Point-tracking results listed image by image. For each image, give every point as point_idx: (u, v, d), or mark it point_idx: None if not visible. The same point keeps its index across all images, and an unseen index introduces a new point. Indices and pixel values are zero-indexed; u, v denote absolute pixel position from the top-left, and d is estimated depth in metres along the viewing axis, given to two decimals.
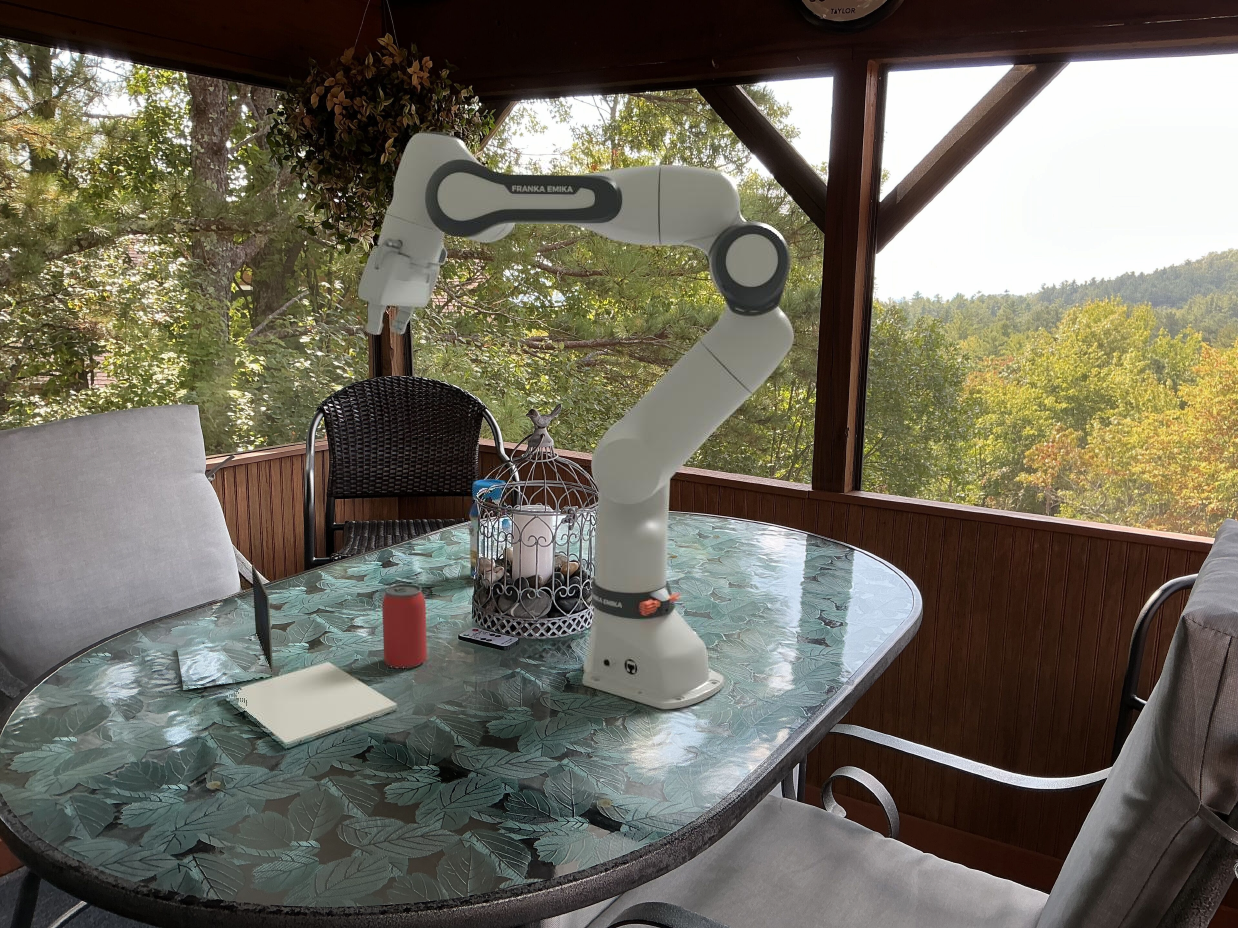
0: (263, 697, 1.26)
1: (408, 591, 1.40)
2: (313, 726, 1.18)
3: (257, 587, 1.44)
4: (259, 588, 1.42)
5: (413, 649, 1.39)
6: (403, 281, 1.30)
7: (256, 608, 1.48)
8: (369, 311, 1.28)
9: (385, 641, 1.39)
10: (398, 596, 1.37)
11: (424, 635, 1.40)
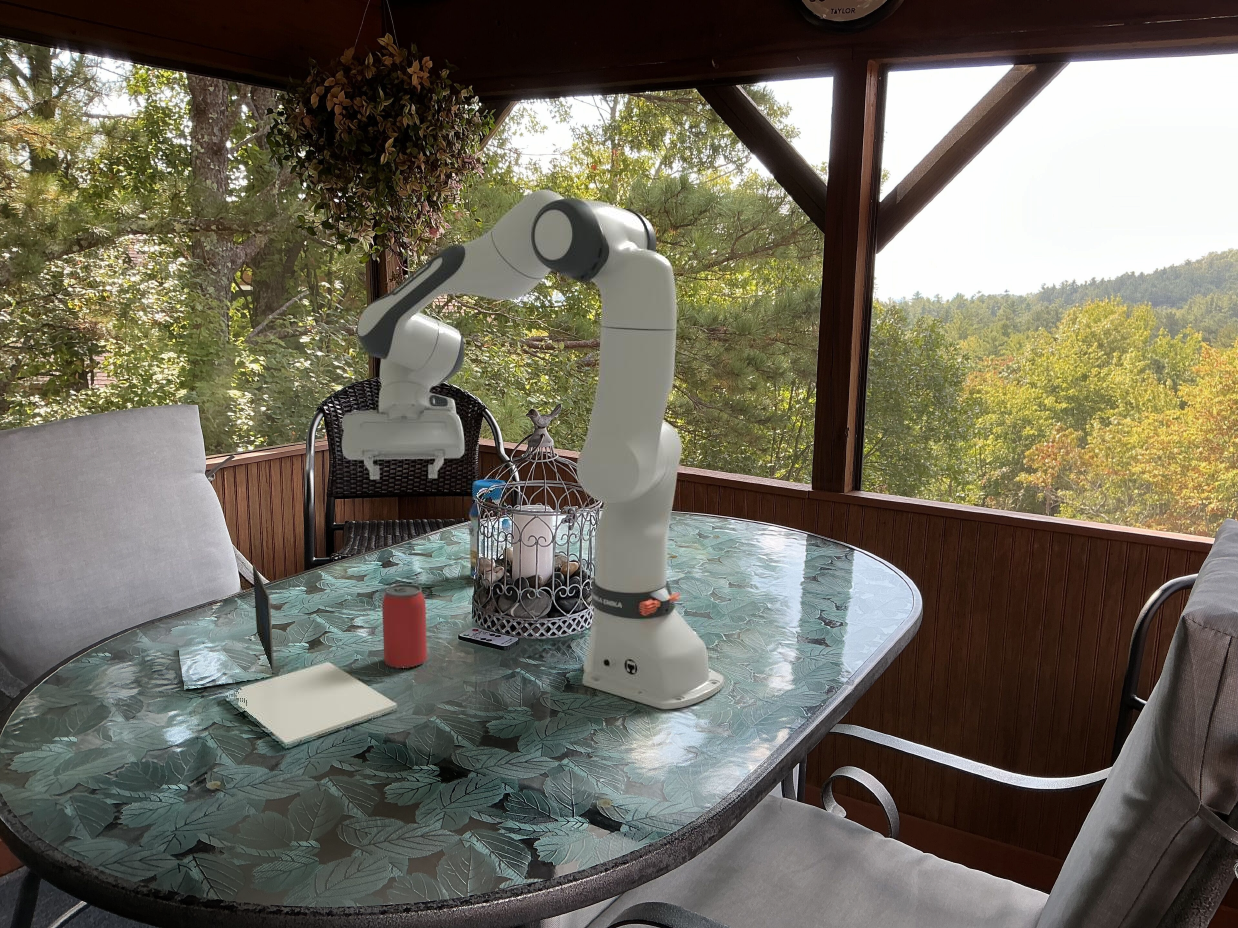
0: (263, 697, 1.26)
1: (408, 591, 1.40)
2: (313, 726, 1.18)
3: (258, 587, 1.44)
4: (260, 588, 1.42)
5: (413, 649, 1.39)
6: (384, 429, 1.51)
7: (257, 608, 1.48)
8: (365, 464, 1.50)
9: (385, 641, 1.39)
10: (398, 596, 1.37)
11: (424, 635, 1.40)
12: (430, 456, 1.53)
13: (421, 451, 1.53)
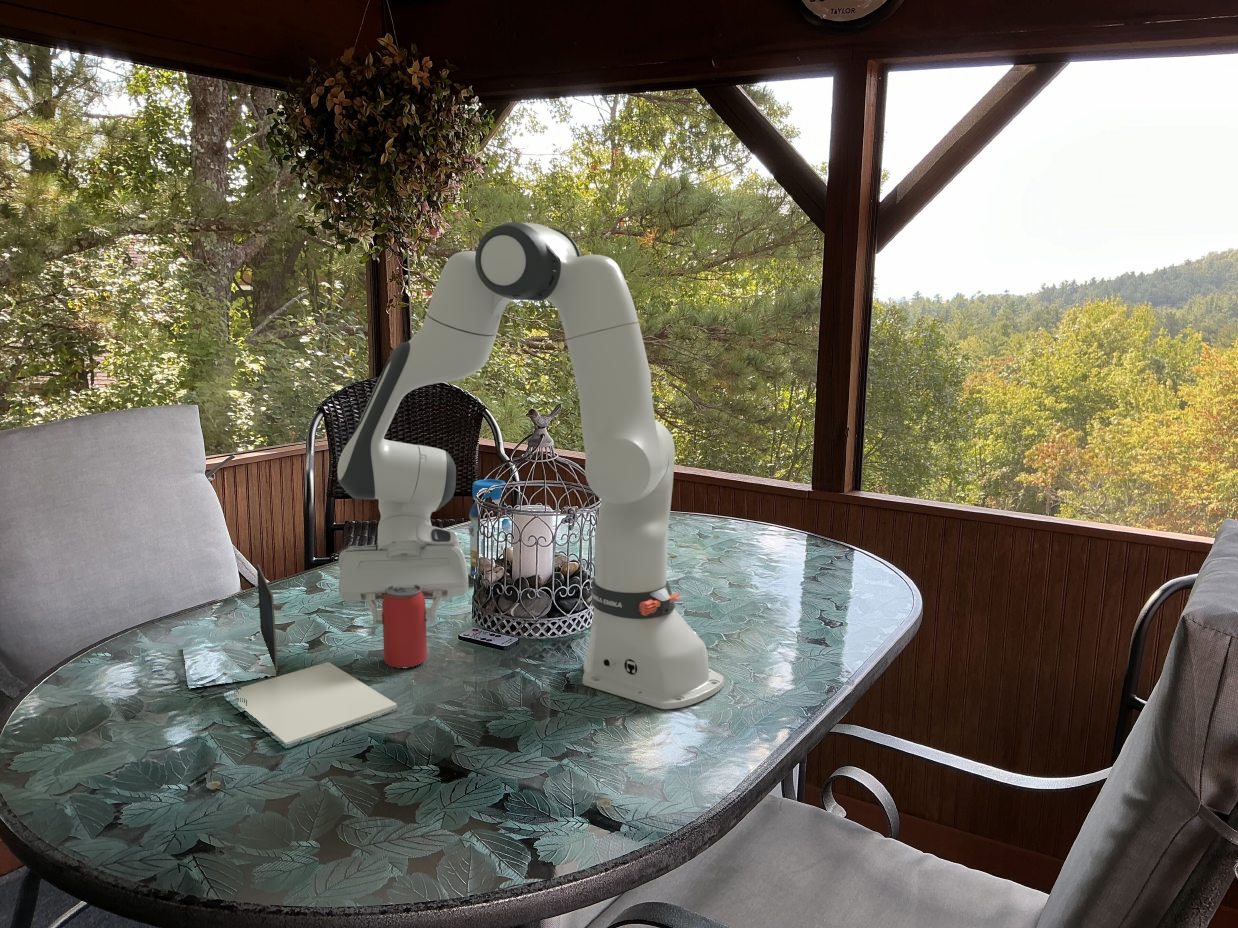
0: (263, 697, 1.26)
1: (408, 591, 1.40)
2: (313, 726, 1.18)
3: (262, 586, 1.44)
4: (264, 587, 1.42)
5: (413, 649, 1.39)
6: (383, 569, 1.43)
7: (261, 607, 1.48)
8: (368, 607, 1.41)
9: (385, 641, 1.39)
10: (398, 596, 1.37)
11: (424, 635, 1.40)
12: (432, 595, 1.44)
13: (423, 590, 1.44)
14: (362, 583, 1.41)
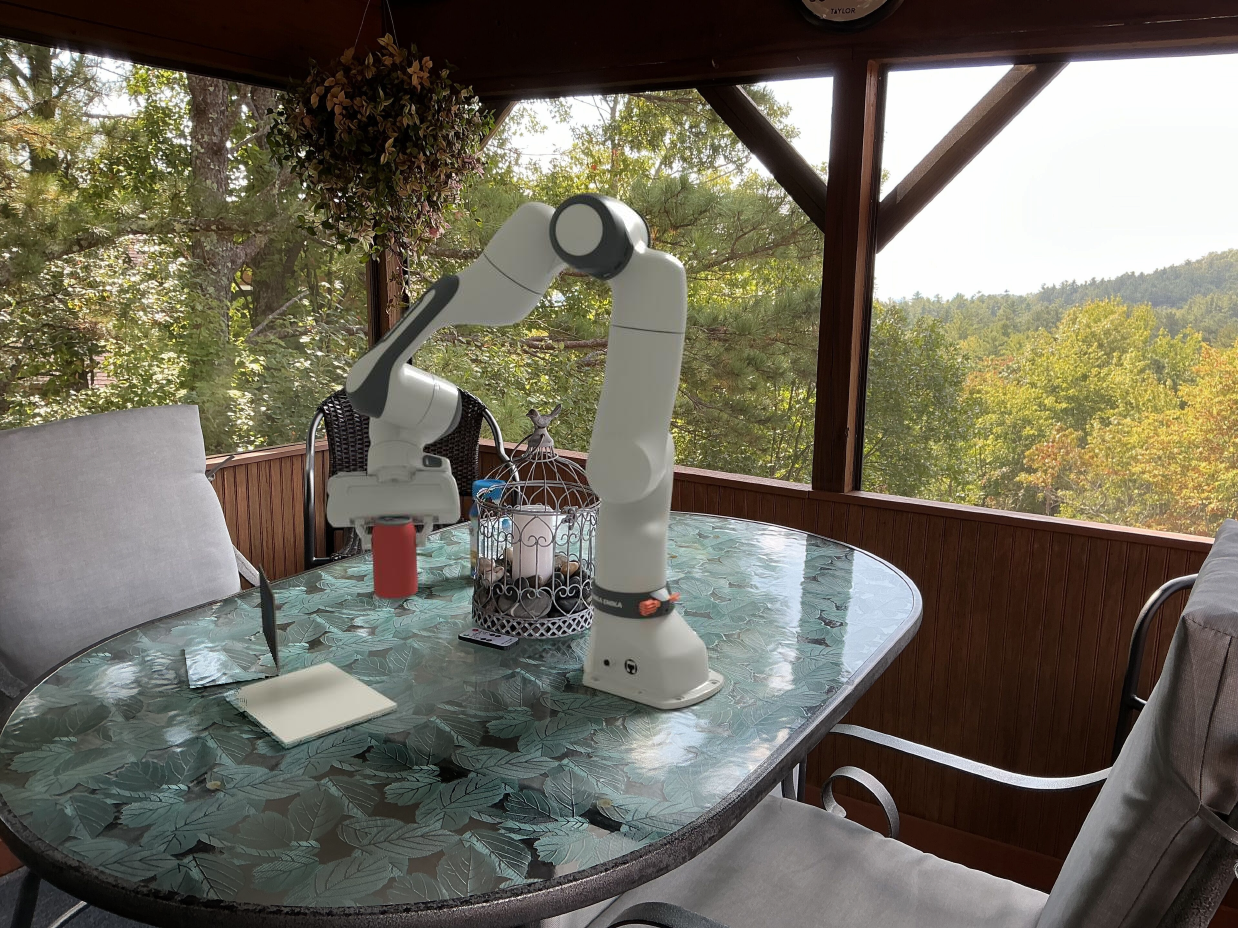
0: (263, 697, 1.26)
1: (398, 521, 1.36)
2: (313, 726, 1.18)
3: (264, 586, 1.44)
4: (265, 587, 1.42)
5: (404, 580, 1.35)
6: (372, 494, 1.39)
7: (263, 607, 1.48)
8: (357, 532, 1.38)
9: (375, 572, 1.36)
10: (388, 525, 1.34)
11: (415, 566, 1.37)
12: (423, 521, 1.41)
13: (413, 517, 1.40)
14: (351, 507, 1.37)
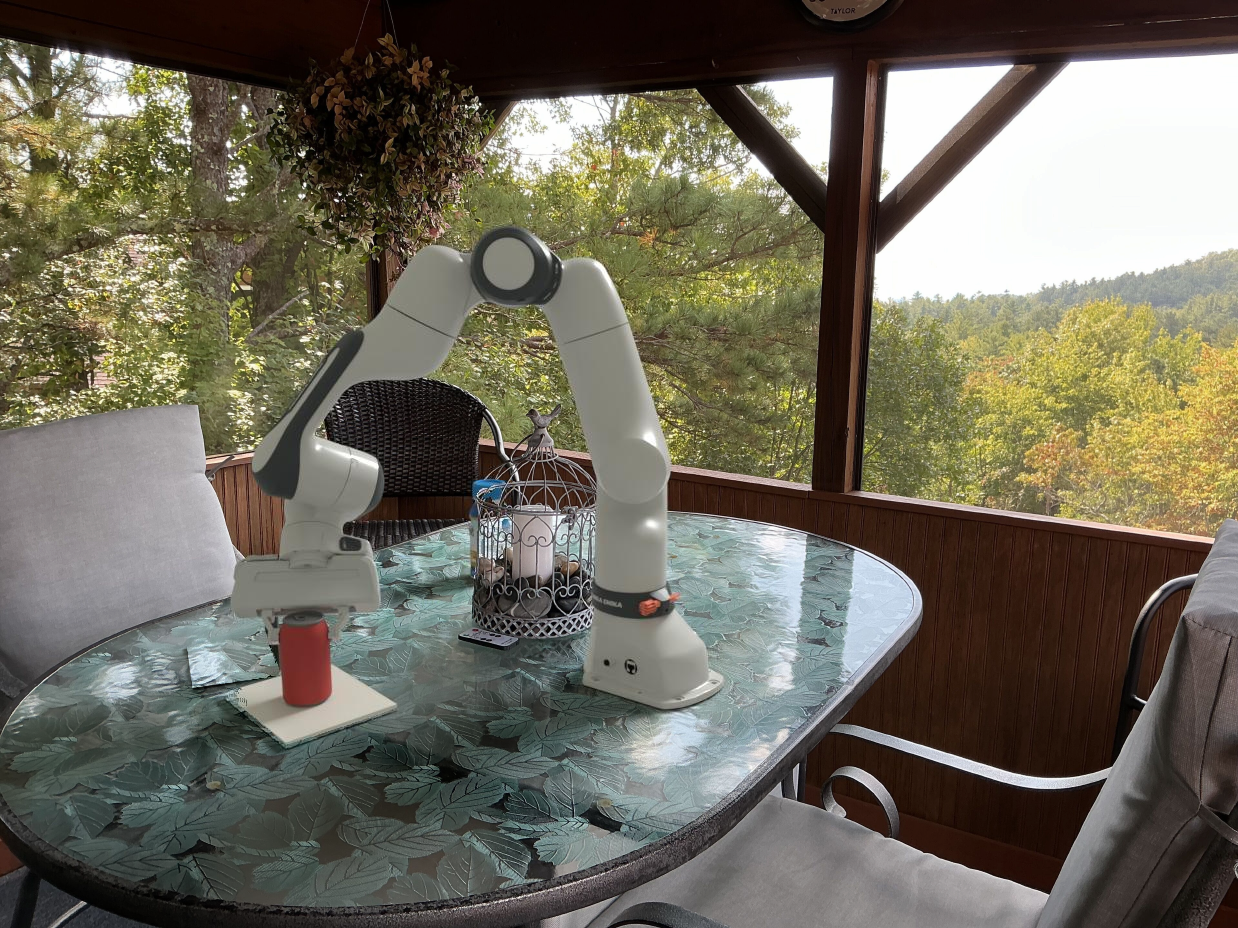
0: (263, 697, 1.26)
1: (309, 619, 1.24)
2: (313, 726, 1.18)
3: None
4: None
5: (316, 685, 1.23)
6: (282, 581, 1.27)
7: None
8: (265, 625, 1.25)
9: (283, 676, 1.23)
10: (297, 626, 1.22)
11: (328, 668, 1.25)
12: None
13: (328, 606, 1.28)
14: (257, 598, 1.25)
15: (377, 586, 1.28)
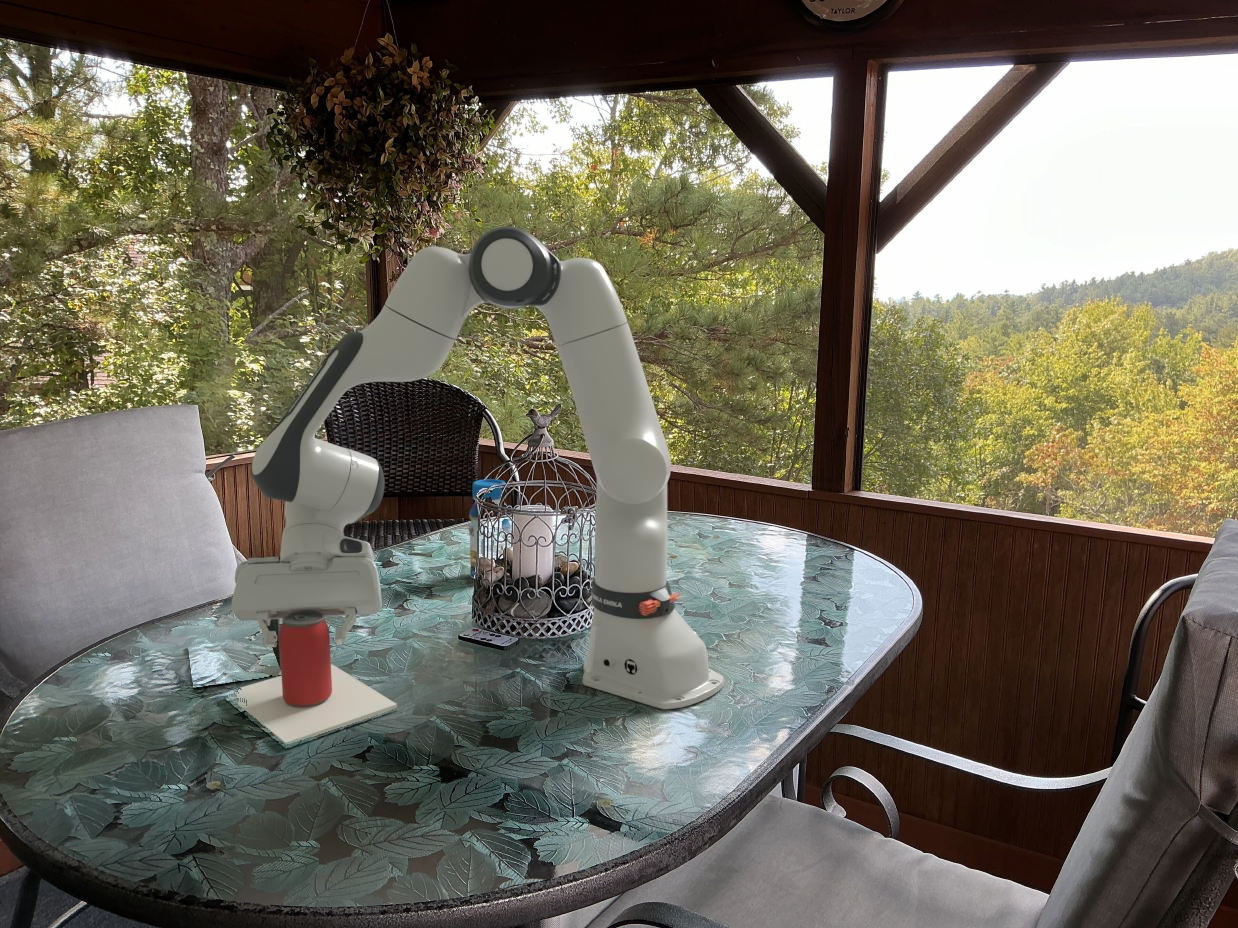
0: (263, 697, 1.26)
1: (309, 619, 1.24)
2: (313, 726, 1.18)
3: None
4: None
5: (316, 685, 1.23)
6: (283, 584, 1.27)
7: None
8: (260, 627, 1.25)
9: (283, 676, 1.23)
10: (297, 626, 1.22)
11: (328, 668, 1.25)
12: (340, 613, 1.29)
13: (329, 608, 1.28)
14: (258, 600, 1.25)
15: (378, 588, 1.28)
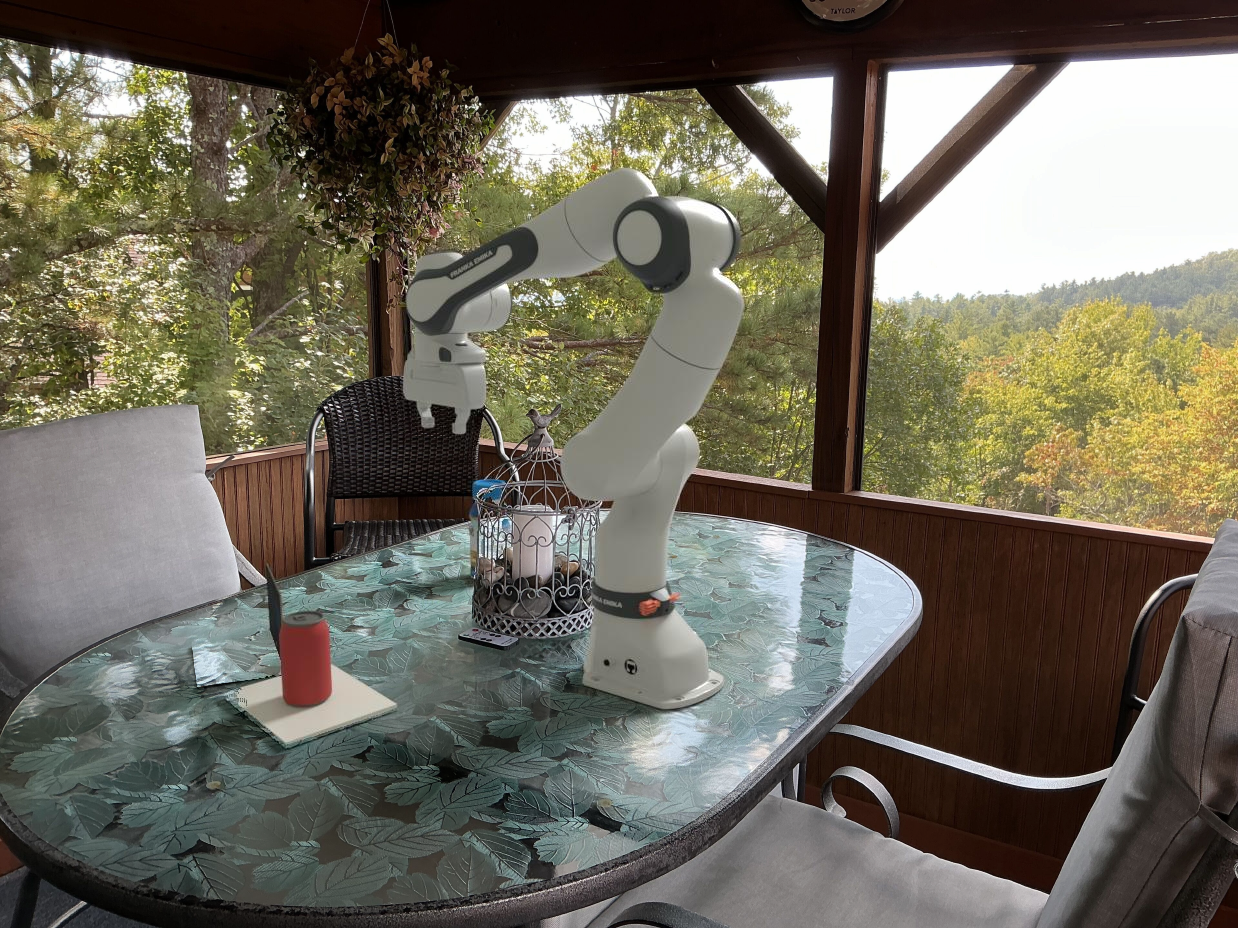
0: (263, 697, 1.26)
1: (309, 619, 1.24)
2: (313, 726, 1.18)
3: (271, 585, 1.45)
4: (272, 586, 1.42)
5: (316, 685, 1.23)
6: (422, 380, 1.54)
7: (270, 606, 1.49)
8: None
9: (283, 676, 1.23)
10: (297, 626, 1.22)
11: (328, 668, 1.25)
12: None
13: None
14: (413, 393, 1.57)
15: (466, 395, 1.46)
